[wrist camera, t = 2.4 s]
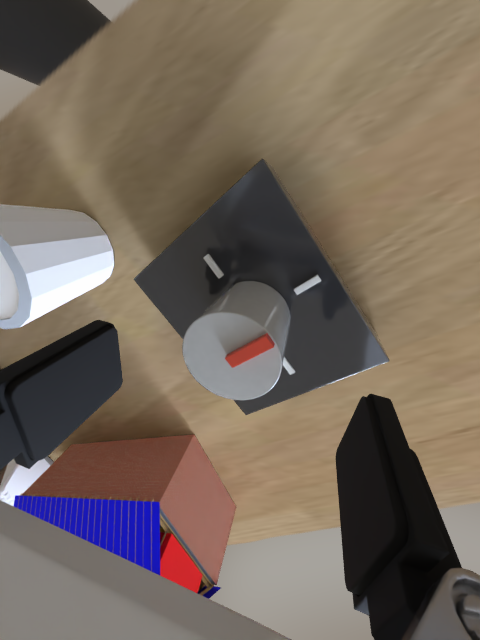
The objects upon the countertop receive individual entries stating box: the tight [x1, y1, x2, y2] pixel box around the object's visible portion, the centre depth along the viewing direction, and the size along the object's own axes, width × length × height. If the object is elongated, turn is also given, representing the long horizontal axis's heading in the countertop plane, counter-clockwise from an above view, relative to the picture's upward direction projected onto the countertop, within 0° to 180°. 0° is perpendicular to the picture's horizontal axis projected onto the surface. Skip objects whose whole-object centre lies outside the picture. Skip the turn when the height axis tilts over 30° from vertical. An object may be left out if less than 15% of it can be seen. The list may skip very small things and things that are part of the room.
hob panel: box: [134, 159, 389, 415], centre depth 16 cm, size 12×10×3 cm
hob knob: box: [182, 281, 291, 400], centre depth 12 cm, size 4×4×5 cm
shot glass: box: [0, 204, 114, 329], centre depth 16 cm, size 7×7×7 cm
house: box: [14, 434, 236, 599], centre depth 25 cm, size 12×20×12 cm, turn 113°
